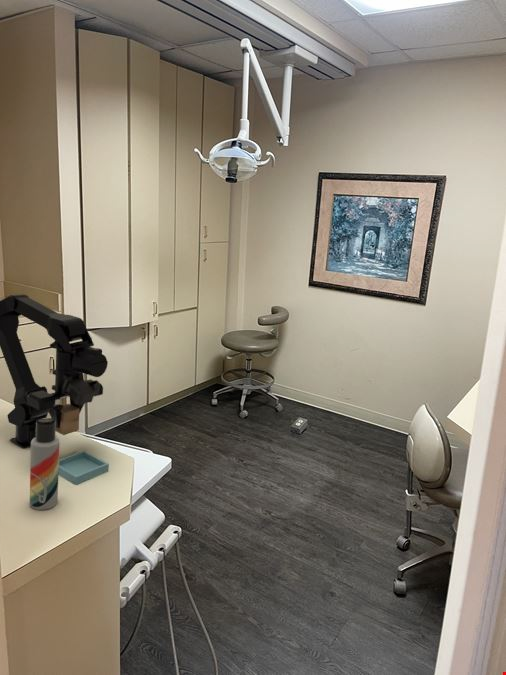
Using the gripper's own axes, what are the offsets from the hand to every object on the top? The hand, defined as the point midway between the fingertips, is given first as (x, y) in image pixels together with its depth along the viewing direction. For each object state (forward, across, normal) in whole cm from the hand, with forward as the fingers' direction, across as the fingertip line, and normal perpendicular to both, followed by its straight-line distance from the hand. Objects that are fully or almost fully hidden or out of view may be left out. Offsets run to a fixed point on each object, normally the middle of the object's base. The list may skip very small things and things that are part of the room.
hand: (65, 425), depth 129 cm
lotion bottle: (+9, -16, -15) cm, 24 cm away
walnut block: (+1, 0, 0) cm, 1 cm away
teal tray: (+9, -2, -8) cm, 12 cm away
